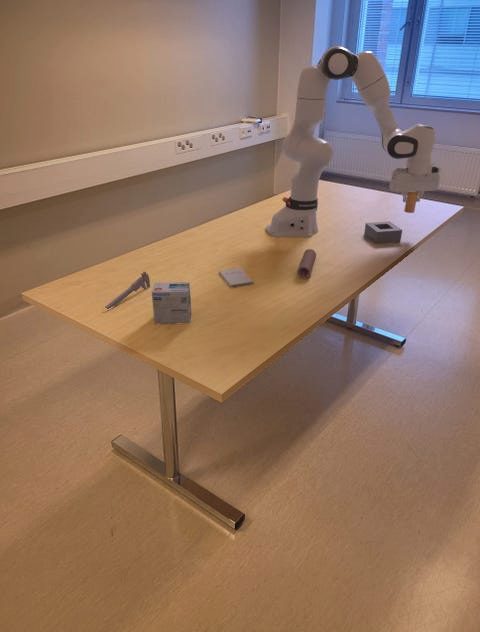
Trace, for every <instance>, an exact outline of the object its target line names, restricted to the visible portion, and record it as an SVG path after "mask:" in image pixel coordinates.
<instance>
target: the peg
mask: <svg viewBox="0 0 480 632" xmlns="http://www.w3.org/2000/svg"><path fill="white" fill-rule="evenodd" d="M418 194H419V192H418V191H410V192H407V194H406V197H407V198H408V202H405V203H404V210H403V211H404V212H405V213H408V214H414V213H415V212H416V211H415V210H416V204H417V202H416V200H417V196H418Z"/></svg>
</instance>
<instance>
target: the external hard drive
mask: <svg viewBox="0 0 480 632" xmlns="http://www.w3.org/2000/svg"><path fill="white" fill-rule="evenodd" d="M218 274H219V275H220V276H222V277H223V278H222V277H221V278H222V279H223V280H224V281H225V282H227V283H226V284H227V285H228V287H230V288H231V287H233V288H238V287H237V286H240V287H245V285H246V286H250V285H251V284H252V285H254V281H253V279H251V278H250V277H249V276H248V274H246V272H245V271H244V270H243V269H242V268H241V267H235V268H229V269H223V270H220V271H218ZM252 285H251V286H252Z"/></svg>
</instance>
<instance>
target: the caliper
mask: <svg viewBox="0 0 480 632" xmlns="http://www.w3.org/2000/svg"><path fill="white" fill-rule="evenodd" d="M140 275H141V276H140V277H139V278H137V279H136V280H135V281H134V282H132V283H131V285H130V286H129V287H128V288H127V289H126V290H124V291H123V292H122V293H121V294H119V295H118V296H117V297H116V298H114V299H113V300H112V301H110V302H109V303H108V304H107V305H105V308H107V309H109V308H111V307H113V306H115V305H116V304H117V305H119V303H121V302H122V301H124V300H125V299H126V298H127V297H128V296H129V295H131V294H132V293H133V292H137V291H138V290H140V288H142V289H143V288H144V289H143V290H145V289H146V290H147V288H150V287H151V280H150V276H149V274H148V273H147V271H143V272H141V273H140ZM147 286H148V287H147ZM117 305H116V306H117ZM116 306H115V307H116ZM105 308H104V309H105ZM113 308H114V307H113Z"/></svg>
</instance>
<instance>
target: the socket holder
mask: <svg viewBox="0 0 480 632" xmlns="http://www.w3.org/2000/svg"><path fill="white" fill-rule="evenodd" d="M364 236H366V238H368V239H369V240H371V241H372V242H373V243H374V244H375V245H376V244H377V245H378V244H390V243H400V242H401V241H402V240H401V239H402V236H403V229H401V228H400V227H398V226H397V225H396V224H394V223H393V222H391V221H377V222H375V221H374V222H365V226H364Z"/></svg>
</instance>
